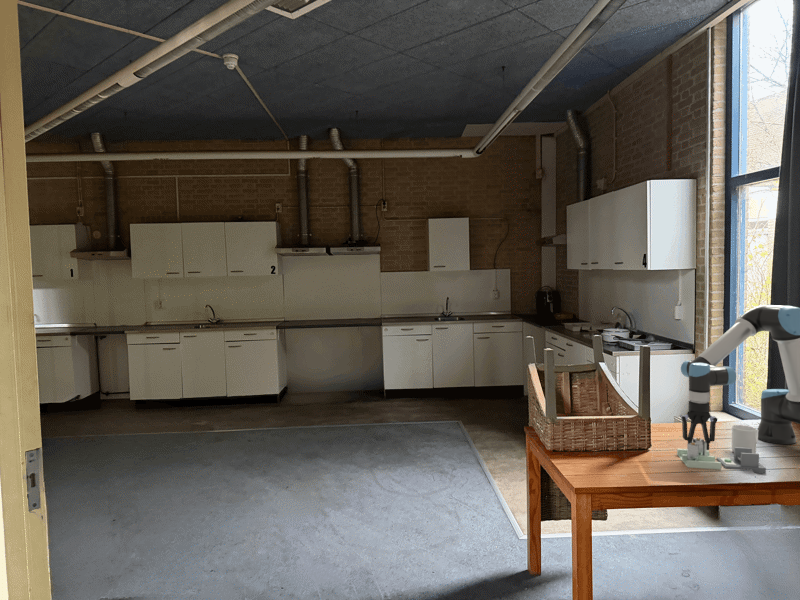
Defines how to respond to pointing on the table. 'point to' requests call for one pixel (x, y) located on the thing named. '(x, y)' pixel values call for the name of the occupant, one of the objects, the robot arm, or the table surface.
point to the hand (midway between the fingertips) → (698, 457)
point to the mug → (744, 437)
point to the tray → (703, 461)
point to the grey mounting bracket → (743, 460)
